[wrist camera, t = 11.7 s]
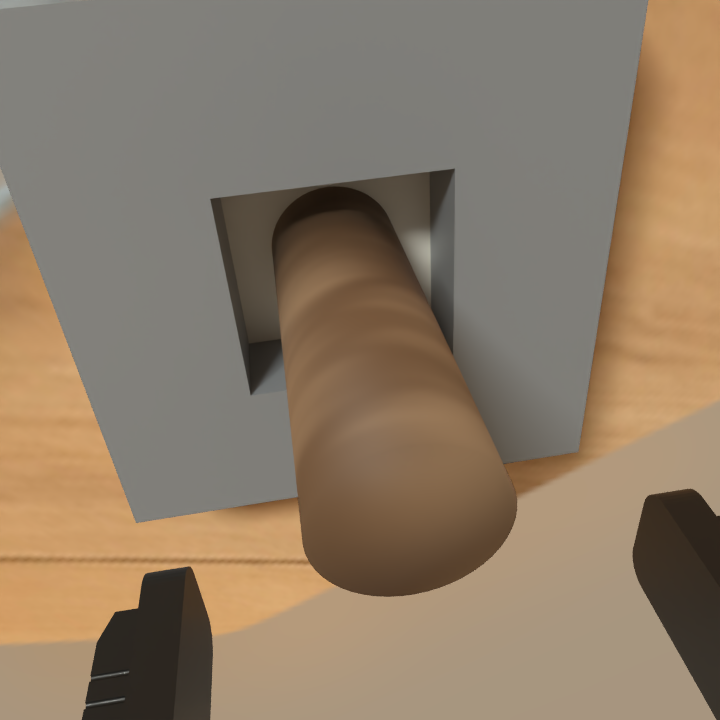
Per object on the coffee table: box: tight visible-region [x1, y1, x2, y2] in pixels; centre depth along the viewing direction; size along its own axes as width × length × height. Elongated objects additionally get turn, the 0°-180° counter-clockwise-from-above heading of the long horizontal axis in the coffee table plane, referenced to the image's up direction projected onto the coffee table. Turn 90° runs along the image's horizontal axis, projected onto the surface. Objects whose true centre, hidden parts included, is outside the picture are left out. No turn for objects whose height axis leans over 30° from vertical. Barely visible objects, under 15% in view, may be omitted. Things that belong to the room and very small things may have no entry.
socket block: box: [0, 0, 648, 523], centre depth 22 cm, size 16×16×4 cm
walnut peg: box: [272, 186, 517, 597], centre depth 17 cm, size 4×4×12 cm
